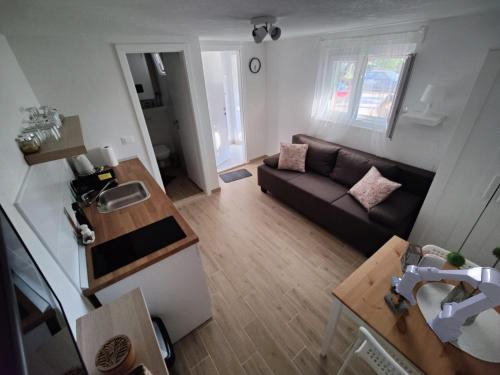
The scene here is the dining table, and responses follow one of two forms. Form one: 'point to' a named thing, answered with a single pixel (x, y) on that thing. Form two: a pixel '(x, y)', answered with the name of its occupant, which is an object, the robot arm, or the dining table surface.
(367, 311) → the dining table surface
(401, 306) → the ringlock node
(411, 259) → the coffee box
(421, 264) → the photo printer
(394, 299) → the wedge
